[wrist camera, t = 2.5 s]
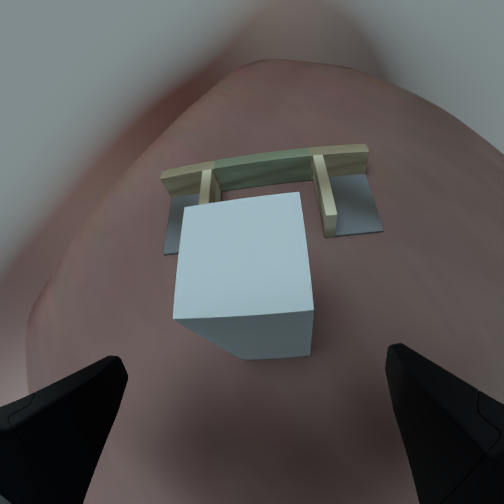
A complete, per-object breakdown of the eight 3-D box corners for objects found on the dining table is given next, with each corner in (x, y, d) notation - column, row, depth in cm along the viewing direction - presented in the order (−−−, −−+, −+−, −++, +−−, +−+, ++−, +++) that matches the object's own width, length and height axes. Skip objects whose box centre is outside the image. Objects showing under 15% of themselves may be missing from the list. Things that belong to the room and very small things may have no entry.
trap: (382, 231, 21) (390, 209, 18) (164, 255, 24) (147, 237, 21) (362, 167, 24) (365, 143, 22) (174, 191, 27) (162, 171, 24)
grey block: (309, 355, 18) (313, 310, 8) (243, 359, 19) (172, 319, 9) (304, 292, 20) (299, 191, 10) (242, 298, 21) (184, 207, 11)
